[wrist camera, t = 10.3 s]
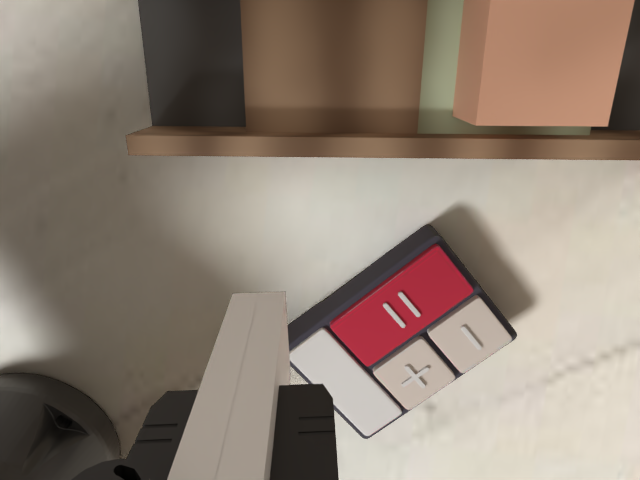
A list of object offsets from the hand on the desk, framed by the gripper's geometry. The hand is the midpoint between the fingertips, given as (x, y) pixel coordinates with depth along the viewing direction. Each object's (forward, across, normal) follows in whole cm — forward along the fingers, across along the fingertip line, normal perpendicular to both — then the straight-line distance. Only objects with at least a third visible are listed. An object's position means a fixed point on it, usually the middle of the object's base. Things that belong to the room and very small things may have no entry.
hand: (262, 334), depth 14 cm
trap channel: (+22, +9, +8) cm, 24 cm away
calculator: (+23, +8, -13) cm, 27 cm away
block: (+18, +14, +8) cm, 24 cm away
